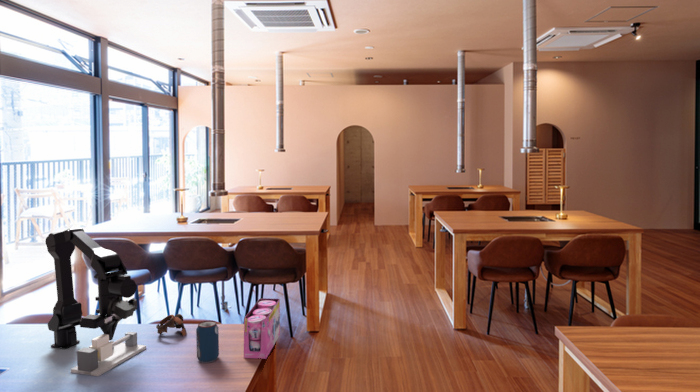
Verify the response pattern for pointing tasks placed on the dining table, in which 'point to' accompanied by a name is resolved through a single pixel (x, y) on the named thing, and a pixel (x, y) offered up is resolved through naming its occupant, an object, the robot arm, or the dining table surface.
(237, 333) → the dining table surface
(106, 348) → the white slider block
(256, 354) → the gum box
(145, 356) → the dining table surface
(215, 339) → the soda can
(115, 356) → the slider rail board
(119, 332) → the dining table surface
